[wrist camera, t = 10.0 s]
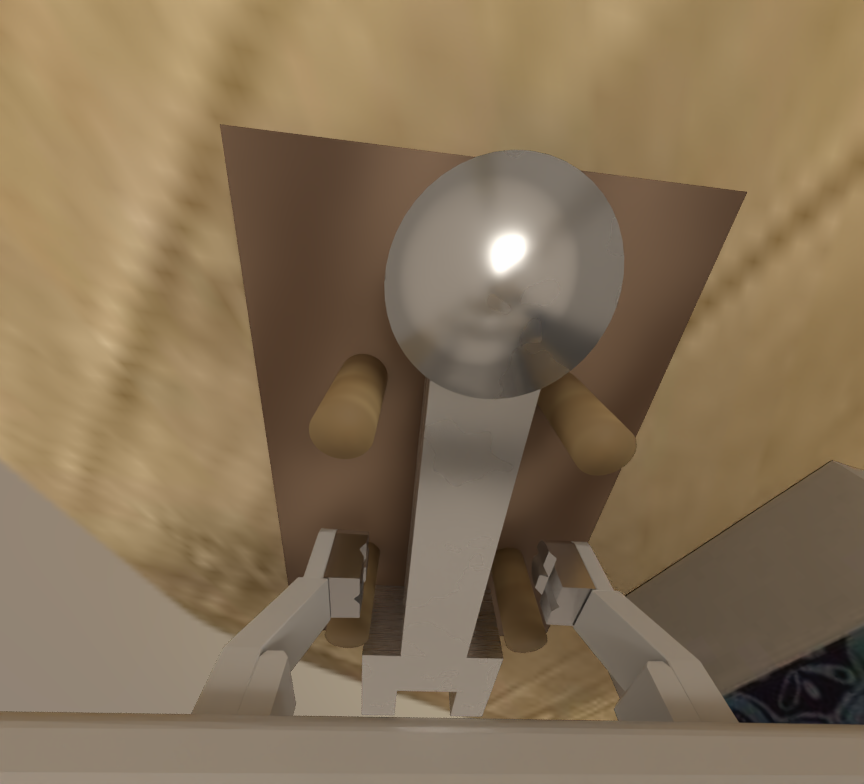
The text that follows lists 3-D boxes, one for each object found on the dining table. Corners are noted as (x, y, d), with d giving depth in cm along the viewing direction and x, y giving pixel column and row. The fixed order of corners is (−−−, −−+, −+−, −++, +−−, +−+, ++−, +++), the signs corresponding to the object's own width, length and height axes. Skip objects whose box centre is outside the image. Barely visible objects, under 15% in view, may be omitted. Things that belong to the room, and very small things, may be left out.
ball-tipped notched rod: (384, 159, 9) (366, 129, 6) (606, 187, 9) (684, 170, 6) (370, 645, 19) (361, 714, 16) (473, 648, 19) (481, 716, 17)
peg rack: (705, 196, 10) (916, 174, 6) (536, 609, 20) (568, 718, 16) (248, 138, 9) (94, 62, 5) (304, 601, 19) (268, 714, 15)
